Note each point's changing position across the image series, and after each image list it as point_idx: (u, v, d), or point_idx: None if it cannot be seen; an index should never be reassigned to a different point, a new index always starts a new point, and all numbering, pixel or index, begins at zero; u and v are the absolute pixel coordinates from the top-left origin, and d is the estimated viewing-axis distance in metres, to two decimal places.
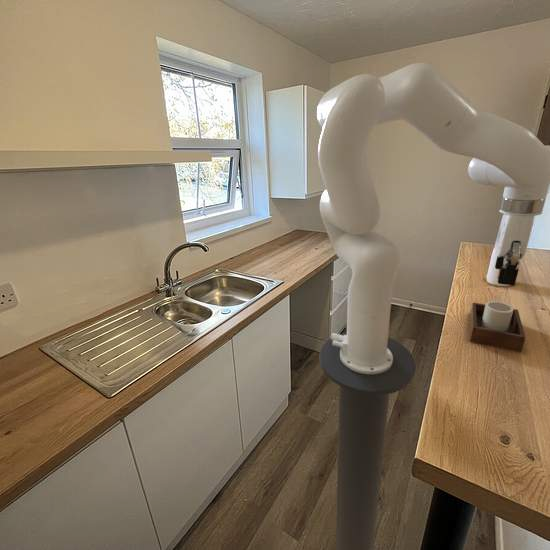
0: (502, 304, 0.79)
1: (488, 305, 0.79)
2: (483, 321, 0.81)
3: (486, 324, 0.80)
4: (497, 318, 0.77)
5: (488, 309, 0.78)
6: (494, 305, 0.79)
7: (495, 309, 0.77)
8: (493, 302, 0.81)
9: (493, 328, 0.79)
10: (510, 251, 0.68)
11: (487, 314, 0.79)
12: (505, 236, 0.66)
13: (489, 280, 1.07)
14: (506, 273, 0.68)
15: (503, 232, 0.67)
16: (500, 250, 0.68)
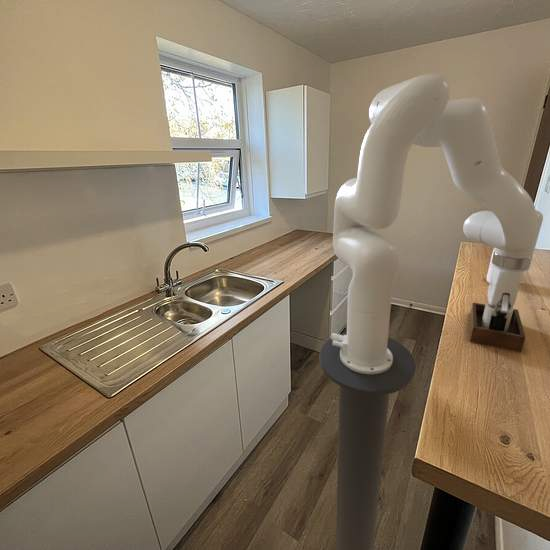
0: None
1: (488, 305, 0.79)
2: (483, 321, 0.81)
3: (486, 324, 0.80)
4: None
5: (488, 309, 0.78)
6: None
7: None
8: None
9: None
10: (501, 300, 0.75)
11: (487, 314, 0.79)
12: (496, 288, 0.73)
13: (489, 280, 1.07)
14: (496, 321, 0.76)
15: (494, 284, 0.74)
16: (492, 300, 0.75)
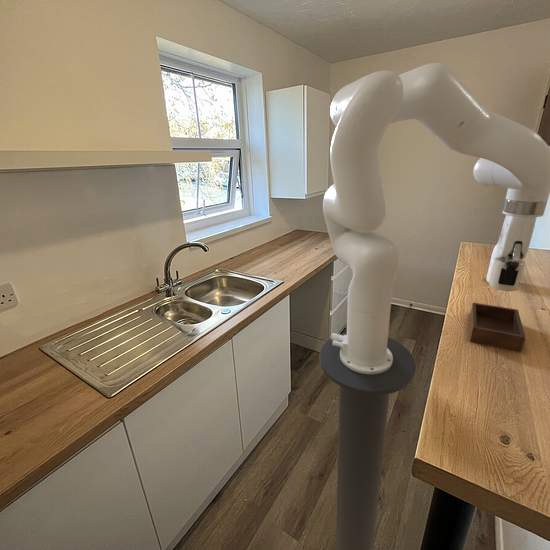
0: None
1: (498, 260, 0.74)
2: (492, 277, 0.76)
3: (495, 280, 0.75)
4: None
5: (498, 263, 0.74)
6: (504, 259, 0.74)
7: None
8: (503, 257, 0.76)
9: None
10: (512, 251, 0.70)
11: (496, 269, 0.74)
12: (507, 236, 0.68)
13: (489, 280, 1.07)
14: (507, 274, 0.71)
15: (506, 233, 0.69)
16: (502, 250, 0.70)
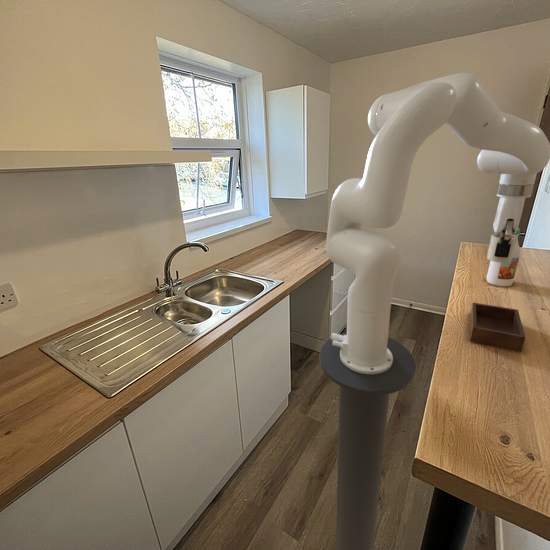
0: None
1: (494, 236, 0.87)
2: (489, 251, 0.89)
3: (492, 254, 0.88)
4: None
5: (494, 238, 0.86)
6: (499, 235, 0.87)
7: None
8: (498, 234, 0.88)
9: None
10: (505, 228, 0.83)
11: (493, 244, 0.87)
12: (501, 215, 0.81)
13: (489, 280, 1.07)
14: (501, 247, 0.84)
15: (499, 212, 0.82)
16: (497, 227, 0.82)
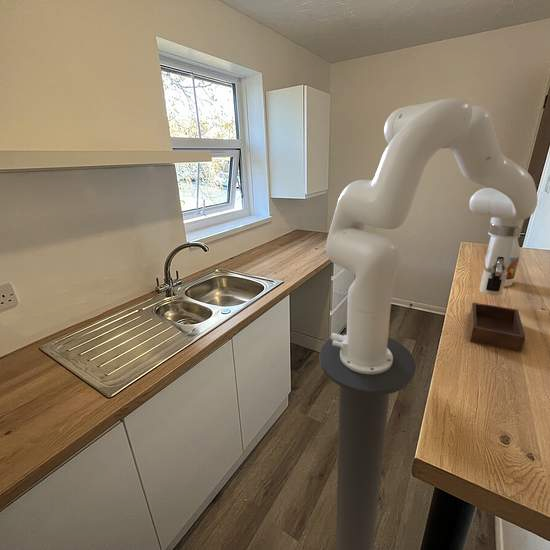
0: None
1: (486, 270, 0.92)
2: (481, 284, 0.94)
3: (484, 287, 0.93)
4: None
5: (486, 273, 0.92)
6: None
7: None
8: None
9: None
10: (496, 264, 0.88)
11: (485, 278, 0.92)
12: (492, 253, 0.86)
13: None
14: (492, 282, 0.89)
15: (490, 250, 0.87)
16: (488, 264, 0.88)
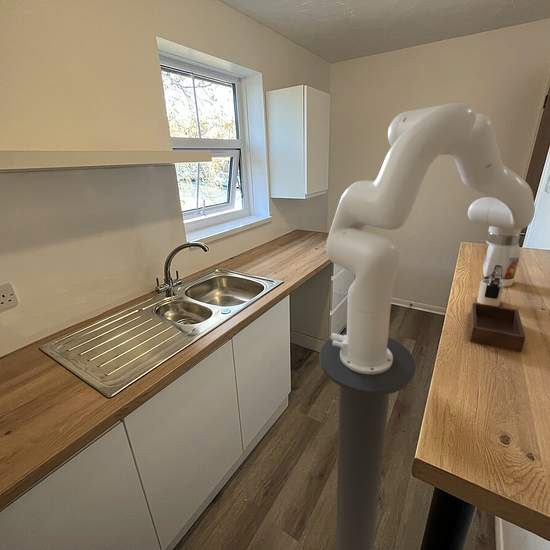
0: None
1: (483, 282, 0.94)
2: (479, 295, 0.95)
3: (481, 298, 0.94)
4: None
5: (483, 284, 0.93)
6: (488, 281, 0.94)
7: None
8: (487, 279, 0.95)
9: (487, 300, 0.93)
10: (494, 273, 0.89)
11: (482, 289, 0.94)
12: (490, 261, 0.87)
13: None
14: (491, 289, 0.89)
15: (488, 258, 0.88)
16: (486, 272, 0.89)
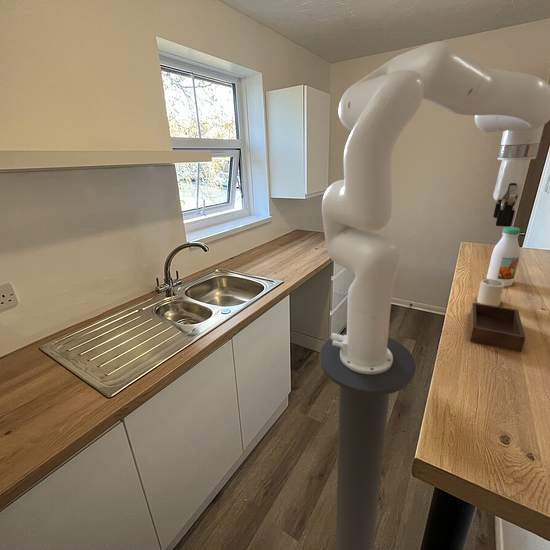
0: (495, 280, 0.94)
1: (483, 282, 0.94)
2: (479, 295, 0.95)
3: (481, 298, 0.94)
4: (490, 292, 0.92)
5: (483, 284, 0.93)
6: (488, 281, 0.94)
7: (489, 284, 0.92)
8: (487, 279, 0.95)
9: (487, 300, 0.93)
10: (507, 195, 0.75)
11: (482, 289, 0.94)
12: (502, 180, 0.73)
13: None
14: (504, 214, 0.74)
15: (501, 176, 0.73)
16: (498, 193, 0.74)
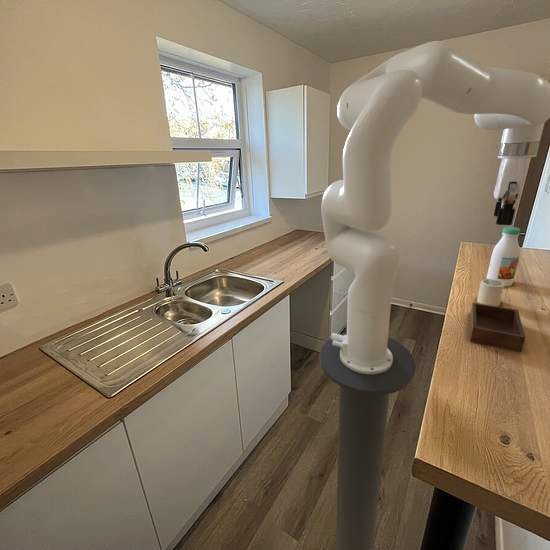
0: (495, 280, 0.94)
1: (483, 282, 0.94)
2: (479, 295, 0.95)
3: (481, 298, 0.94)
4: (490, 292, 0.92)
5: (483, 284, 0.93)
6: (488, 281, 0.94)
7: (489, 284, 0.92)
8: (487, 279, 0.95)
9: (487, 300, 0.93)
10: (507, 193, 0.74)
11: (482, 289, 0.94)
12: (503, 178, 0.73)
13: None
14: (504, 213, 0.74)
15: (501, 175, 0.73)
16: (498, 192, 0.74)
